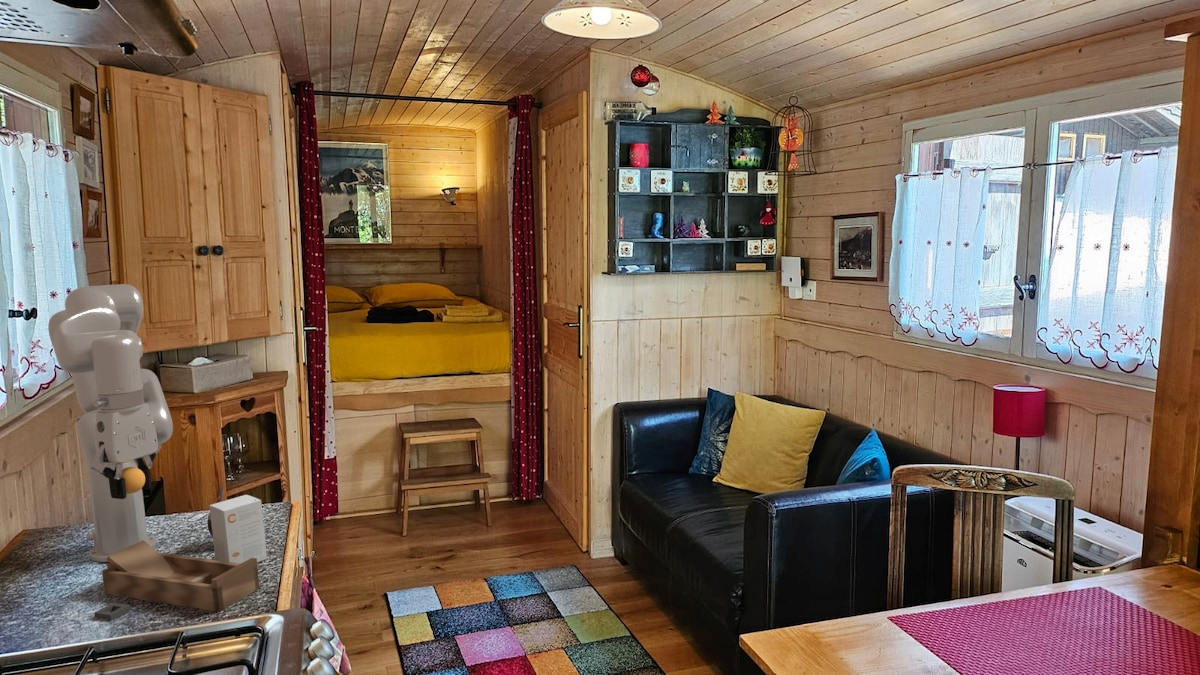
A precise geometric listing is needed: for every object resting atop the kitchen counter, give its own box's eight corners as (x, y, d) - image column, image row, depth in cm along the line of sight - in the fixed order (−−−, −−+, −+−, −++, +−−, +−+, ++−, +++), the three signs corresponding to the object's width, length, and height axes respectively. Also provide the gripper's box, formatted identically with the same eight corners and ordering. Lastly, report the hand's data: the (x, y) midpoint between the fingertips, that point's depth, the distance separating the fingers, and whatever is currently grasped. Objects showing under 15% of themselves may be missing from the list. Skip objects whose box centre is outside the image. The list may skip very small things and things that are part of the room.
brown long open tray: (104, 593, 157) (100, 557, 156) (148, 571, 166) (144, 538, 165) (219, 612, 148) (215, 574, 147) (259, 588, 157) (256, 552, 156)
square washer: (94, 617, 147) (94, 612, 147) (114, 607, 151) (113, 602, 151) (111, 620, 146) (110, 615, 146) (131, 610, 150) (130, 605, 149)
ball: (130, 498, 154) (127, 472, 154) (110, 496, 156) (107, 470, 155) (152, 489, 159) (149, 464, 158) (133, 487, 161) (130, 463, 160)
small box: (252, 552, 175) (247, 493, 173) (267, 559, 171) (262, 499, 169) (214, 565, 169) (208, 504, 167) (229, 573, 165) (223, 510, 163)
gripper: (95, 411, 146) (107, 510, 148) (173, 392, 162) (182, 481, 164) (64, 409, 148) (76, 506, 151) (144, 390, 164) (154, 478, 167)
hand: (131, 492), depth 158 cm, fingers closed on ball, 4 cm apart
